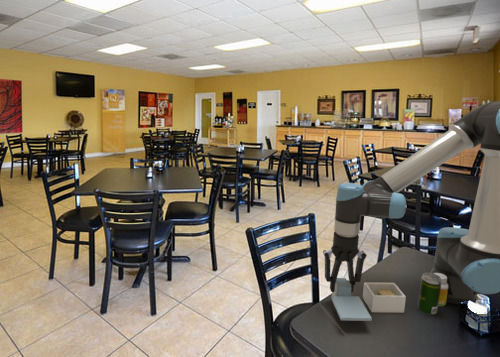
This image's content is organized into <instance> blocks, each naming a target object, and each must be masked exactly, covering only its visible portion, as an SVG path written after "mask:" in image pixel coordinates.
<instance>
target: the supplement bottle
mask: <svg viewBox="0 0 500 357" xmlns="http://www.w3.org/2000/svg"><path fill="white" fill-rule="evenodd" d="M434 274H436V275H438V276H439V277H440V278H441V289H440V295H439V302H438V307H444V306H445V305H447V302H446V300H447V293H448V284H447V276H445V275H444V274H441V273H434Z"/></svg>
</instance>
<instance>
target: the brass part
mask: <svg viewBox="0 0 500 357" xmlns="http://www.w3.org/2000/svg"><path fill="white" fill-rule="evenodd" d="M377 295H389V296H396V295H395V294H393V293H392V292H391V291H390V290H388V289H386V290H379V291H377Z"/></svg>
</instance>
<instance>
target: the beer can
mask: <svg viewBox="0 0 500 357" xmlns="http://www.w3.org/2000/svg"><path fill="white" fill-rule="evenodd" d="M419 286H420V287H419V293H418V301H417V309H418V311H419V312H421V313H422V314H425V315H427V316H435V315H437V313H438V308H439V306H438V302H439V295H440V289H441V278H440V277H439V276H438V275H436V274H433V273H430V272H424V273H422V276H421V278H420V285H419Z"/></svg>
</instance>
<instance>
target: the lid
mask: <svg viewBox="0 0 500 357" xmlns="http://www.w3.org/2000/svg"><path fill="white" fill-rule="evenodd" d="M347 280H348V279H347V277H337V280H336V282H337V284H338V289H337V296H332V295H330V296H331V298H330V299H331V301H332V303H333V306H334V308H335V311H336V312H337V315H338V317H339V320H340V321H348V322H349V321H355V322H356V321H361V322H362V321H363V322H365V321H366V322H367V321H369V322H372V316H371V314H370V313H369V311H368V309H367V307H366V305H365V304H364V302H363V301H362V299H361V298H360V296H359V295H356V296H355V295H352V292H351V286H350V285H349V283H348V281H347Z"/></svg>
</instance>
